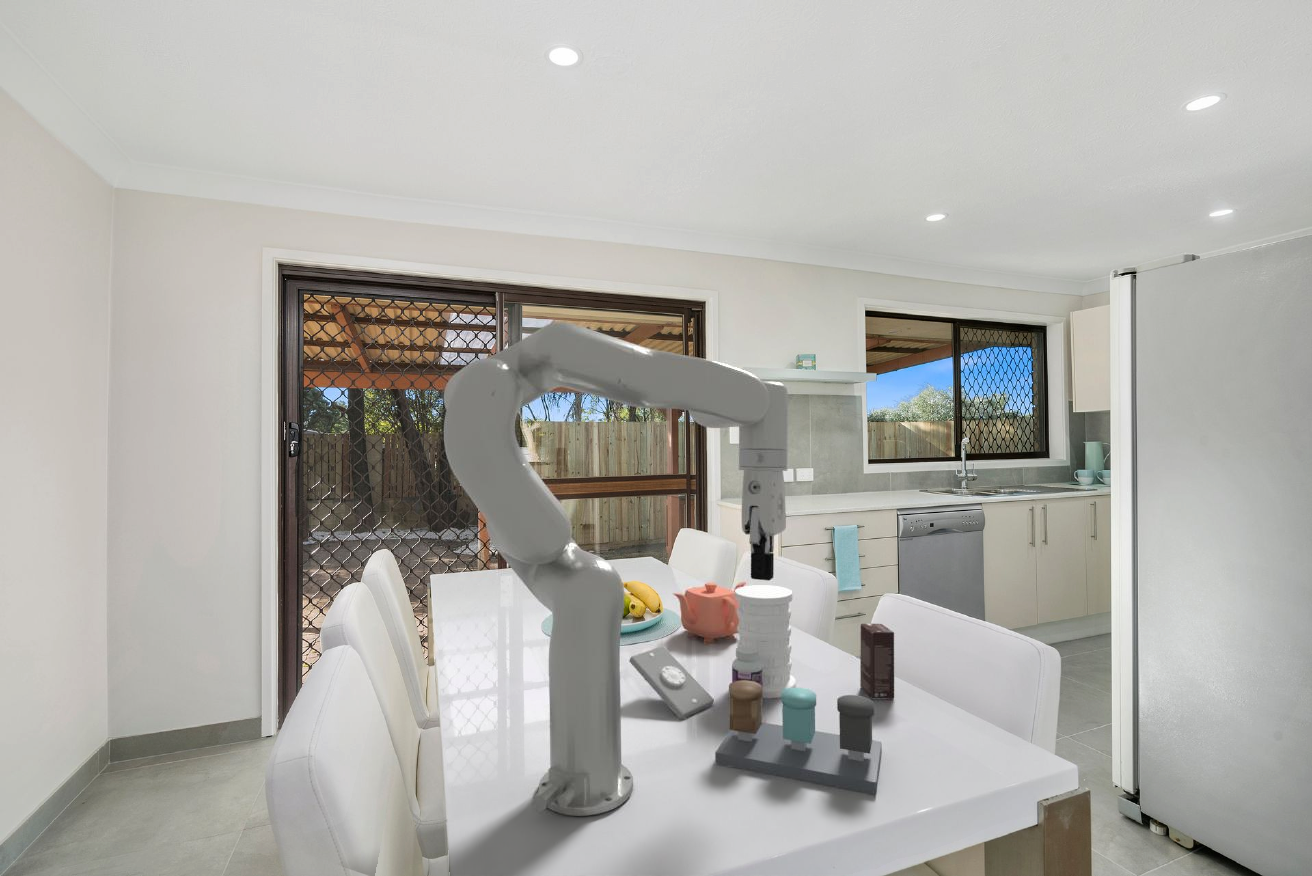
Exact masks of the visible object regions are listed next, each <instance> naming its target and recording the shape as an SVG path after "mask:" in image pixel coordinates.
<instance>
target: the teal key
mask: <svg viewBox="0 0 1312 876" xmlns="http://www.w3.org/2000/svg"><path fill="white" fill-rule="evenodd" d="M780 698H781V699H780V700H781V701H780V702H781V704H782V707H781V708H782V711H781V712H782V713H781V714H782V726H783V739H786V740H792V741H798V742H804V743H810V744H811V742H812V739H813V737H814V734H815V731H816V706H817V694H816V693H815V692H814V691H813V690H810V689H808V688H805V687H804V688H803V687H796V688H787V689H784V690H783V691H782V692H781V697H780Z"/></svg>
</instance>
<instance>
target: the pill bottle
mask: <svg viewBox="0 0 1312 876" xmlns="http://www.w3.org/2000/svg"><path fill="white" fill-rule="evenodd" d="M758 657H759V653H758V649H757V648H755V647H751V646H741V647H736V648H735V659H734V660H733V661H732V665H731V683H732V682H735V681H741V680H746V681H753V682H757V683H759V684H760V685H761V686H762V703H763V699H764V698H763V679H762V663H761V662H760V661H759V660H758Z"/></svg>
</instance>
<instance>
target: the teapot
mask: <svg viewBox="0 0 1312 876" xmlns="http://www.w3.org/2000/svg"><path fill="white" fill-rule="evenodd" d="M746 584H747V582H746V581H744V582H739V583H737V584H736V586H735V587H734V590H731V589H729V588H726V587H723V586H722V587H721V586H717V585H718V584H717V583H715V582H706V583H705V584H704V586H698V587H695V586H694V587H692V588H687V589H686V590H685V591H684V594H683V593H679V592H677V593H674V592H673V593H672V595H674V596H676V597H677V599H678V601H679V606H680V621H681V622H680V623H681V625H682V627H683V629H684V630H685V631H687V632H689V634H688V637H690V638H691V637H692V638H697V637H702V638H703V643H704V644H710V645H711V644H714V643H715V639H718V638H722V637H723V638H725V639H727V640H731V639H732V640H733V639H735V638H736V636H735V634H738V631H737V627H738V624H739V618H738V615H737V609H738V607H739V601H737V600H736V599H735V590H736V589H737V588H740V587H743V586H746Z"/></svg>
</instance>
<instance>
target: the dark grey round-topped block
mask: <svg viewBox="0 0 1312 876" xmlns="http://www.w3.org/2000/svg"><path fill="white" fill-rule="evenodd" d="M836 700H837V701H836V703H837V704H836V705H837V706H836V707H837V711H838V715H839V716H838V717H839V719H838V720H839V723H838V724H839V735H840V749H845V750H851V751H857V752H863V753H869V754H870V751H871V745H872V740H873V716H874V715H875V703H874V701H873V699H872V700H871V699H870V698H868V697H866V696H862V695H858V694H857V695H856V694H854V695H853V694H847V695H842V696H839V697H838V698H837V699H836Z"/></svg>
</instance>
